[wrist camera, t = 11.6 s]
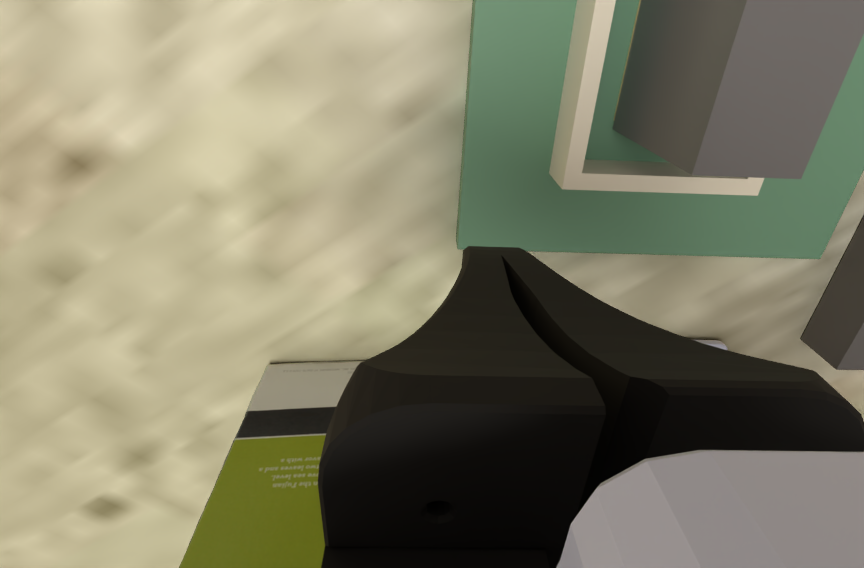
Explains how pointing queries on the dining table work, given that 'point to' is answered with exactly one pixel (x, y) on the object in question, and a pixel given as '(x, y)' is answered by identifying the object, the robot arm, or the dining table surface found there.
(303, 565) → the tea box
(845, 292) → the grey flat block
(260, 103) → the dining table surface
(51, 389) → the dining table surface
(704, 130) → the plug
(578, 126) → the board
